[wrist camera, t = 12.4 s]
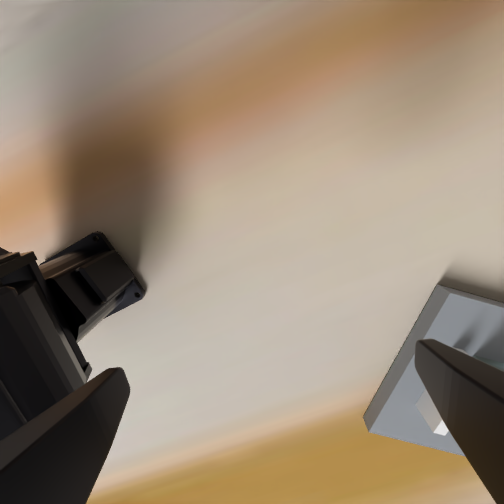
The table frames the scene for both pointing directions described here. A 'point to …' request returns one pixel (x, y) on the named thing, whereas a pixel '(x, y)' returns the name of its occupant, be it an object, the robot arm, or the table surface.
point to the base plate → (408, 381)
